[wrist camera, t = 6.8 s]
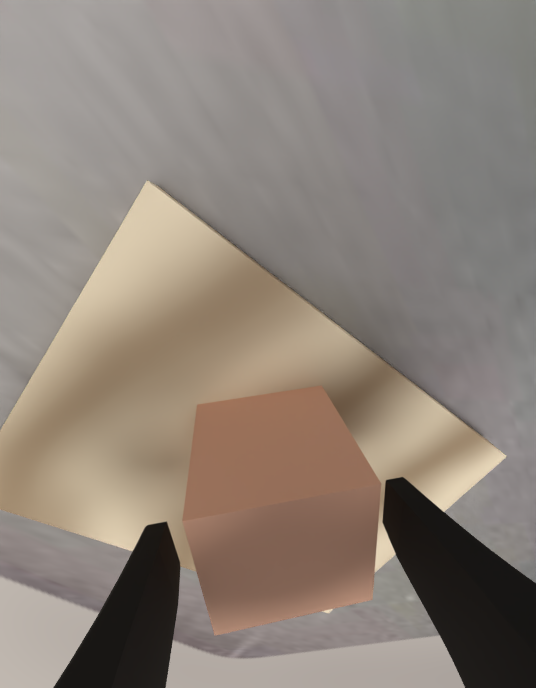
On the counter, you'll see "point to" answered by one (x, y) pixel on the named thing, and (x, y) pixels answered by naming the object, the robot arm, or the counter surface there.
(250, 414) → the terracotta cube
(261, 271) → the birch board
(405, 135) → the counter surface
